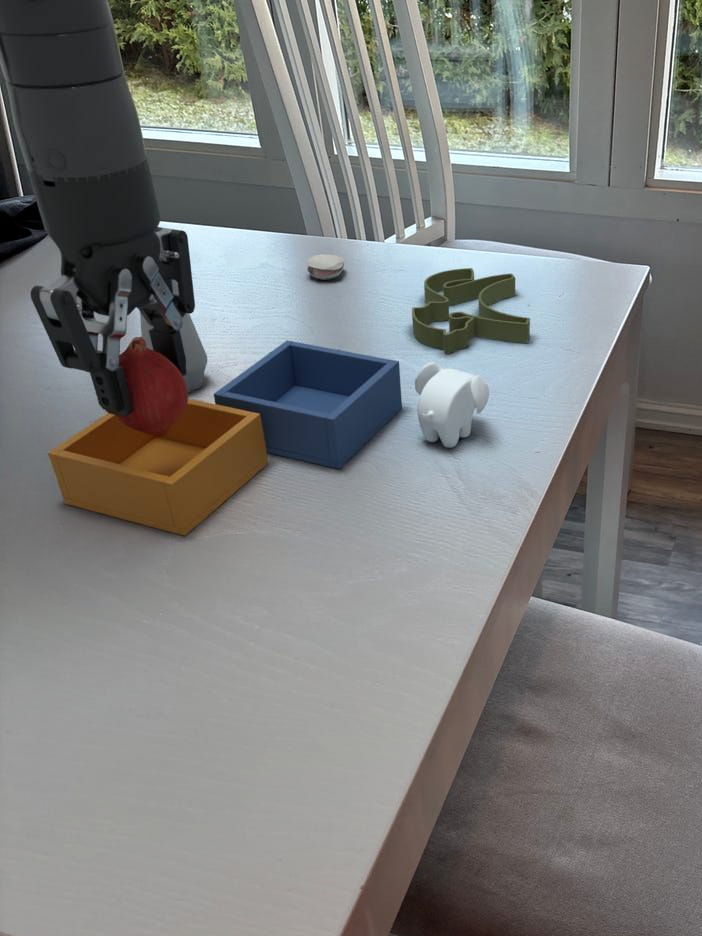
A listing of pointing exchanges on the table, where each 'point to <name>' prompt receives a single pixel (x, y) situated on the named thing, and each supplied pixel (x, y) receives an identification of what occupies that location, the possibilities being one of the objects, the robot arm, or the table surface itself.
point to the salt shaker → (191, 345)
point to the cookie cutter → (463, 325)
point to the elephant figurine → (448, 402)
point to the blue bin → (317, 400)
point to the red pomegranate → (152, 389)
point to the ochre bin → (162, 466)
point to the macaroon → (325, 266)
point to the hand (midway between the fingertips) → (147, 393)
